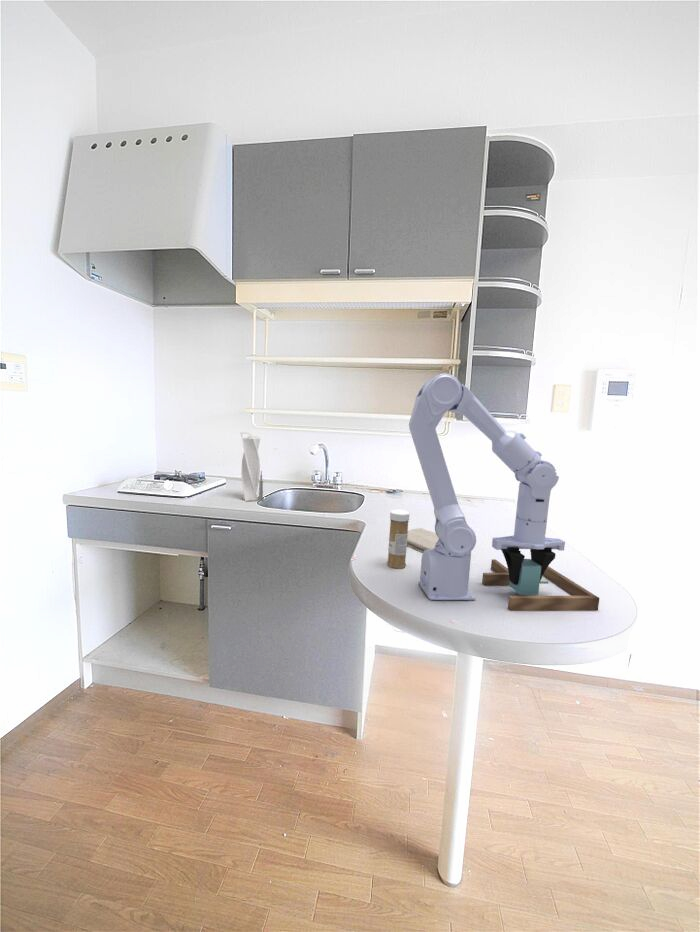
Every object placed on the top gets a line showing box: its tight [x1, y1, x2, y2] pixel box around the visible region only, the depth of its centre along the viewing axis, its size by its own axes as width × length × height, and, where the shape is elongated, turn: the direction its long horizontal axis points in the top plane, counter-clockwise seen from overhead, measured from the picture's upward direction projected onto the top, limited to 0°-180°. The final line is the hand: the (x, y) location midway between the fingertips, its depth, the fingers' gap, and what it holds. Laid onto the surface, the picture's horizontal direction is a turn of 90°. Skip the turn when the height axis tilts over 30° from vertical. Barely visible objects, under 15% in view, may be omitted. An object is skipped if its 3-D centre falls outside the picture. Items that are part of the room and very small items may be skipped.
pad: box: [506, 567, 550, 584], centre depth 88 cm, size 8×8×1 cm
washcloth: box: [407, 527, 439, 554], centre depth 108 cm, size 12×18×3 cm, turn 36°
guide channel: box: [481, 559, 600, 612], centre depth 82 cm, size 18×20×2 cm
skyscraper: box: [240, 431, 265, 503], centre depth 154 cm, size 8×8×28 cm
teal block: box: [508, 558, 541, 596], centre depth 77 cm, size 4×4×6 cm
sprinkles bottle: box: [386, 509, 410, 569], centre depth 90 cm, size 5×5×14 cm
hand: (524, 582), depth 78 cm, fingers closed on teal block, 4 cm apart
